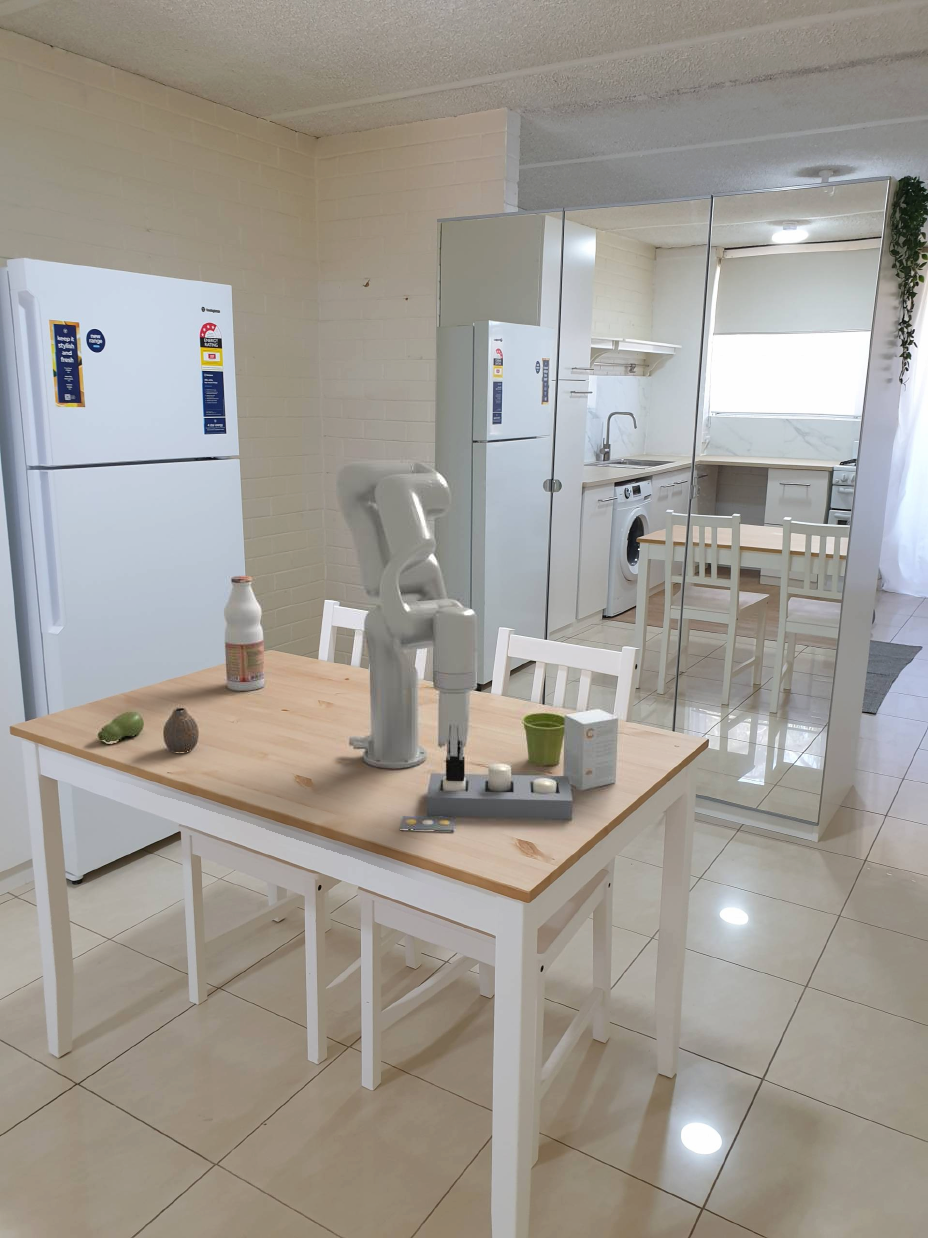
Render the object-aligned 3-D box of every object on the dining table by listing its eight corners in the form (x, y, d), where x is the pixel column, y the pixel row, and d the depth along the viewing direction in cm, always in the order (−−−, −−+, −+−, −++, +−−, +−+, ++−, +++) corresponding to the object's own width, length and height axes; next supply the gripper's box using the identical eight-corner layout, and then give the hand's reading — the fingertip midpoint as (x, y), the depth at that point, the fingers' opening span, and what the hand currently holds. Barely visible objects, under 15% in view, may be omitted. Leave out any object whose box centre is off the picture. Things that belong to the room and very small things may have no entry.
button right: (533, 806, 165) (533, 786, 164) (532, 796, 168) (533, 778, 168) (556, 806, 164) (556, 787, 164) (555, 797, 168) (555, 778, 168)
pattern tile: (399, 831, 156) (399, 828, 156) (402, 818, 161) (402, 815, 161) (453, 832, 156) (453, 829, 156) (455, 819, 161) (455, 816, 161)
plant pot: (575, 758, 190) (576, 717, 188) (555, 773, 182) (556, 730, 180) (533, 750, 194) (534, 709, 192) (512, 764, 186) (513, 722, 185)
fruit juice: (223, 691, 233) (217, 580, 227) (231, 681, 242) (226, 573, 236) (261, 691, 233) (256, 580, 227) (268, 681, 242) (264, 573, 236)
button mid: (487, 791, 164) (488, 771, 164) (488, 782, 168) (488, 763, 167) (510, 791, 164) (511, 772, 163) (510, 782, 168) (510, 764, 167)
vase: (184, 742, 197) (182, 702, 195) (206, 749, 193) (204, 708, 192) (157, 751, 192) (154, 710, 190) (179, 758, 188) (176, 717, 186)
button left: (442, 802, 165) (442, 782, 164) (443, 793, 169) (443, 774, 168) (464, 802, 165) (465, 783, 164) (465, 793, 169) (465, 774, 168)
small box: (596, 772, 183) (599, 708, 180) (616, 783, 177) (619, 717, 174) (561, 779, 179) (563, 714, 176) (581, 791, 173) (583, 723, 171)
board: (426, 816, 162) (426, 797, 161) (431, 791, 173) (431, 773, 172) (572, 819, 161) (572, 800, 160) (567, 794, 172) (568, 776, 171)
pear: (146, 710, 200) (106, 730, 193) (151, 732, 202) (111, 753, 195) (130, 705, 203) (90, 725, 196) (135, 727, 205) (95, 747, 198)
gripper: (436, 667, 170) (436, 764, 173) (430, 690, 155) (430, 795, 159) (477, 668, 169) (477, 764, 173) (475, 691, 155) (475, 796, 158)
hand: (455, 779), depth 166 cm, fingers closed
